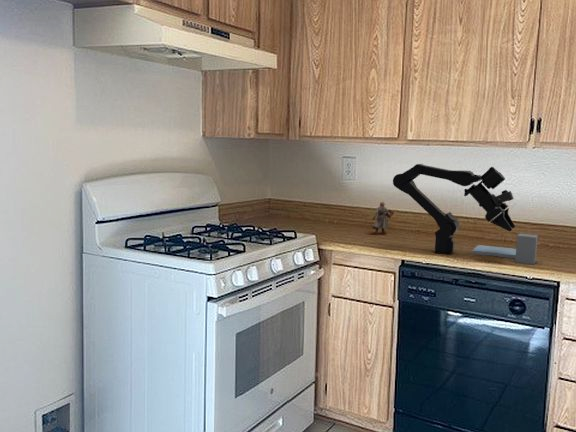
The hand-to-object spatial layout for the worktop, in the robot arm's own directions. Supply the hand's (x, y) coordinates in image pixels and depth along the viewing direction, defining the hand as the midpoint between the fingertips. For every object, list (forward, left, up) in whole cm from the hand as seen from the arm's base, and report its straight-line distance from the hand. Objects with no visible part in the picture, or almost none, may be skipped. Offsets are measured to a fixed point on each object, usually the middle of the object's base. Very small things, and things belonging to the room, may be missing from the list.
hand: (512, 228), depth 207 cm
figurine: (-60, +28, -12) cm, 67 cm away
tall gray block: (+5, 0, -12) cm, 13 cm away
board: (-5, +12, -12) cm, 17 cm away
